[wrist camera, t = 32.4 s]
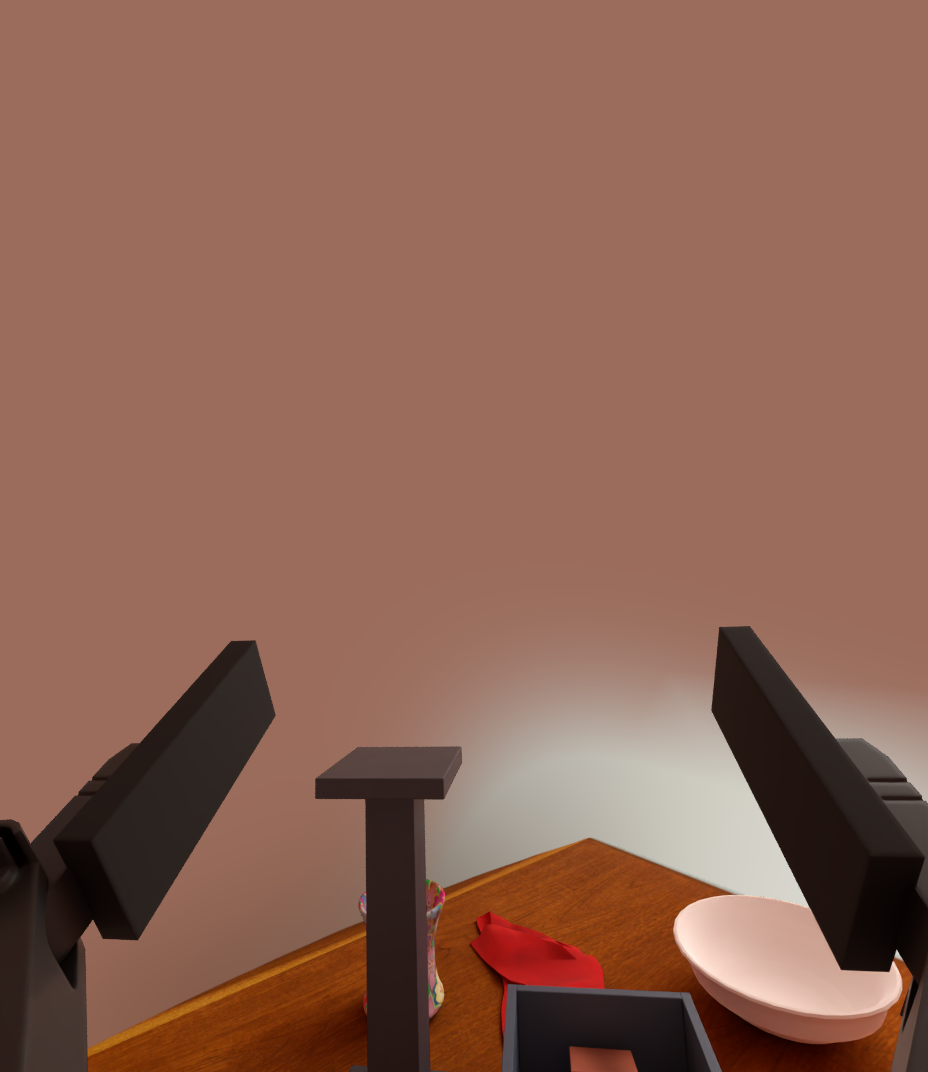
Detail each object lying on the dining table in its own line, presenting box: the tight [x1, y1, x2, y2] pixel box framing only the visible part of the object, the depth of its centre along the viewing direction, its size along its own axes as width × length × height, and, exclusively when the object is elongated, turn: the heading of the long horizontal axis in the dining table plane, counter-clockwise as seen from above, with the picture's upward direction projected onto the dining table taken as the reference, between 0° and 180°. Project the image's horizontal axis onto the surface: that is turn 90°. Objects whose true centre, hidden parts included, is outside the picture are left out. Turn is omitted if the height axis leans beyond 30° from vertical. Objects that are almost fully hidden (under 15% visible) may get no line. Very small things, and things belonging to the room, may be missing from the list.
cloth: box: [470, 911, 604, 1038], centre depth 61 cm, size 26×14×2 cm, turn 9°
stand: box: [315, 747, 462, 1072], centre depth 43 cm, size 12×12×28 cm
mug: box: [359, 879, 445, 1019], centre depth 56 cm, size 12×9×11 cm
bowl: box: [673, 895, 902, 1044], centre depth 54 cm, size 20×20×6 cm
